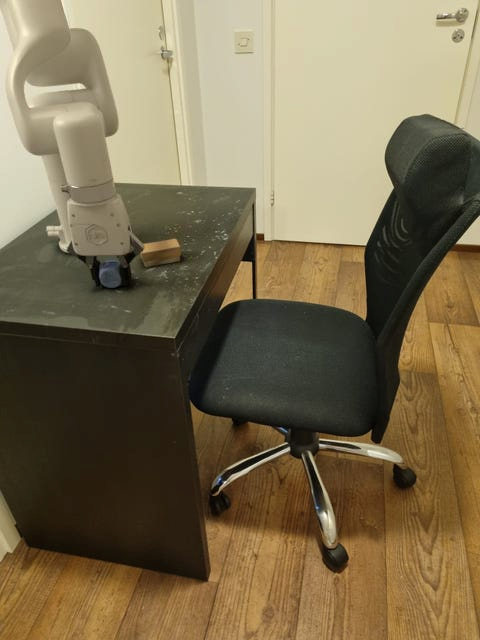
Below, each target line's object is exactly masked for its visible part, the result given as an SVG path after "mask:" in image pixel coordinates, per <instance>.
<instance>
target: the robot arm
mask: <svg viewBox="0 0 480 640" xmlns="http://www.w3.org/2000/svg"><path fill="white" fill-rule="evenodd" d="M0 12H1V14H2V17H3V20H4V23H5V27H6V30H7V34H8V36H9V40H10V43H11V46H12V50H13V53H12V55H11V57H10V59H9V61H8V65H7V68H6V71H5V72H6V73H5V94H6V99H7V102H8V106H9V108H10V112H11V115H12V118H13V121H14V126H15V129H16V132H17V135H18V137H19V140H20V143H21V144H22V146H23V147H24V149H25V150H26V151H27V152H28V153H30V154H31V155H33V156H38V157H41V160H42V162H43V166H44V169H45V173H46V176H47V179H48V183H49V187H50V190H51V194H52V197H53V202H54V205H55V207H56V212H57V216H58V219H59V222H60V223H59V225H47V226H46V227H45V228H46V229H45V230H46V234H47V237H48V238H49V239H50V238H58V239H60V240H59V241H58V246H59V249H60V250H61V251H62V252H64V253H67V254H70V255H73V257H77V259H78V260H80V261H81V262H82V263H84V264H85V266H86V268H88V269H89V270H90V274H91V279H92V281H94V283H95V286H96V287H100V286H102V283H101V281H100V276H99V266H100V264H101V263H102V262H101V261H100V260H98V257H117V260H118V261H119V262H120V265H121V266H120V268H119V271H120V276H121V281H122V285H121V286H123V287H127V286H128V284H129V282H130V281H131V280H132V278H133V275H132V269H131V262H132V261H134V259H135V258H136V257H137V256H139V255H140V253H141V252H142V251H143V250H144V248H145V246H144V245H143V244H144V243H143V242H142V241H141V240H140V239H139V238H138V237H137V236H136V235H135V234H134V233H133V230H132V226H131V222H130V219H129V215H128V212H127V208H126V206H125V203H124V201H123V199H122V197H121V194H120V193H117V190H116V186H115V180H114V174H113V169H112V164H111V160H110V154H109V150H108V144H107V139H106V138H109V137H112V136H114V135H115V134H116V133H117V132H118V130H119V127H120V122H119V121H120V120H119V114H118V109H117V105H116V101H115V98H114V93H113V91H112V86H111V83H110V79H109V75H108V71H107V67H106V64H105V60H104V57H103V53H102V51H101V47H100V44H99V42H98V40H97V38H96V37H95V35H94V34H93V33H92V32H91V31H89V30H88V29H85V28H81V27H71V28H70V25H69V23H68V19H67V16H66V13H65V9H64V6H63V3H62V0H0ZM26 82H27V84H28V85H30V86H33V87H38V88H47V87H58V86H67V85H76V84H81V85H83V86H84V88H78V89H70V90H69V89H66V90H59V91H49V92H43V93H39V94H36V95H34V96H32V97H31V98H29V99H28V100H27V99H26V95H25V83H26ZM131 246H132V247H133V248H131Z"/></svg>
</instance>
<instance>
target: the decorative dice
mask: <svg viewBox="0 0 480 640" xmlns="http://www.w3.org/2000/svg"><path fill="white" fill-rule="evenodd" d="M120 266H121V265H120V262H119V260H118V259H107V260H105V261H103V262H101V264H100V266H99V276H100V281H101V283H102V284H101V286H103V287H106V288H108V289H109V288H110V289H114V288H118V287H121V286H123V285H122V281H121V276H120V271H119V268H120Z"/></svg>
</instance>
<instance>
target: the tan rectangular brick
mask: <svg viewBox="0 0 480 640" xmlns="http://www.w3.org/2000/svg"><path fill="white" fill-rule="evenodd" d="M142 244H143V245H144V246H145V248H144V250H143V251H142V252H141V253H140V254H139V255H140V257H141V262H142V263H143V266H144V268H148V267H155V266H161V265H165V264H173V263H176V262H181V256H182V250H181V246H180V244H179V241H178V239H177V238H170V239H166V240H161V241H160V240H159V241H153V242H147V243H142Z"/></svg>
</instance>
